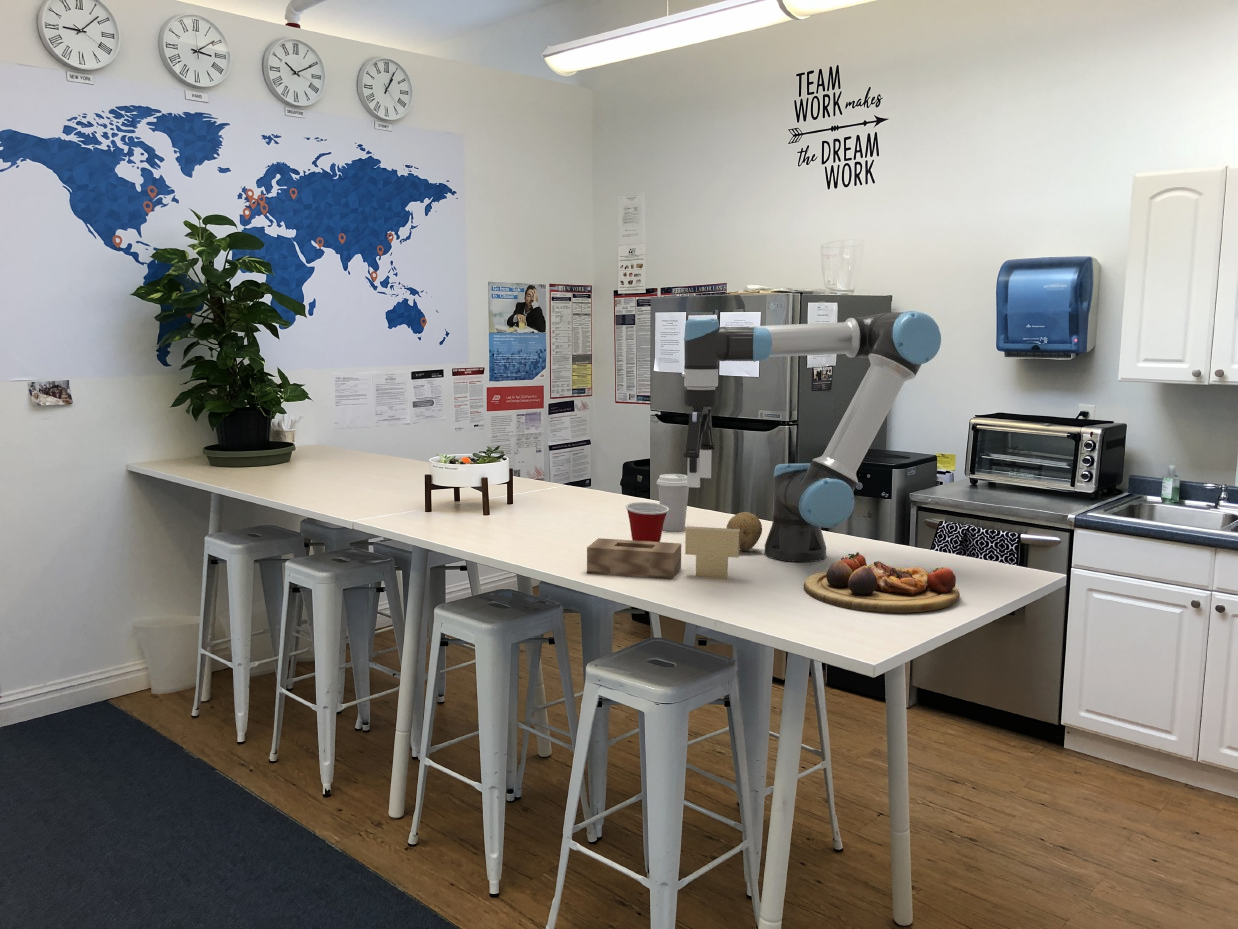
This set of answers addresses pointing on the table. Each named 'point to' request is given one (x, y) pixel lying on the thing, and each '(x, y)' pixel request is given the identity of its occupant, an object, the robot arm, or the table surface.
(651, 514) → the plastic cup
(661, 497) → the coffee cup
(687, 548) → the light wooden block
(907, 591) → the wooden plate with food
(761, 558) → the table surface
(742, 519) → the natural sponge
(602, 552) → the slotted block
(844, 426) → the robot arm
